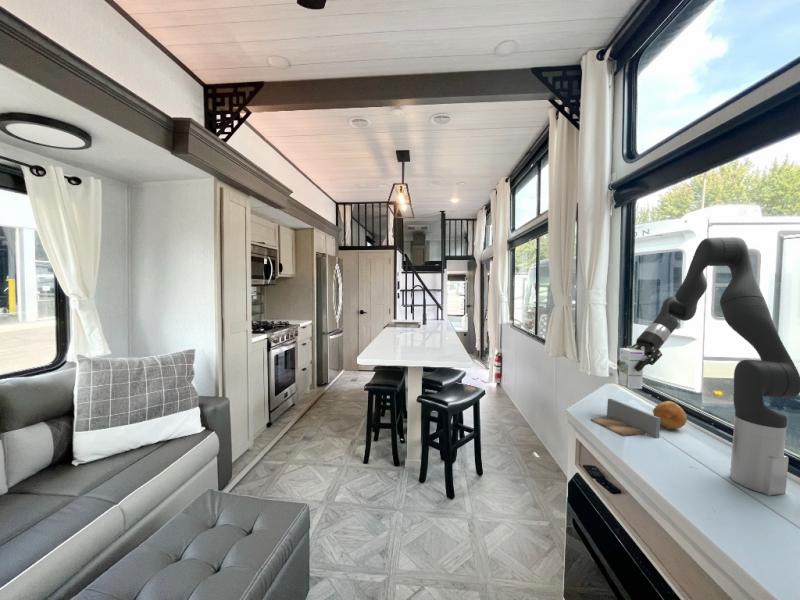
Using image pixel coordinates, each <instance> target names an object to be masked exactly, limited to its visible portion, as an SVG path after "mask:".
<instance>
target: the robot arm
mask: <svg viewBox="0 0 800 600" xmlns="http://www.w3.org/2000/svg"><path fill="white" fill-rule="evenodd" d="M751 259H752V258H751V255H750V251H749V248H748V244H747V243H746V241H745V240H744V239H742V238H741V237H736V236H729V237H728V236H727V237H726V236H725V237H721V236H720V237H707V238H704V239H703V240H701V241H700V243H699V244H698V245H697V247H696V250H695V252H694V254H693V256H692V259H691V262H690V263H689V264H690V265H689V267H688V271H687V273H686V275H685V278H684V279H683V281H682V283H681V284H680V286H679V287H678V289H677V291H676V292H675V296H670V297H666V298H665V299H664V300H663V303H662V304H661V308H660V310H659V313H658V315H657V317H656V318H655V319H654V320H653V321H652V322H651V324H650V325H649V326H647V327H646V328H645V329H644V331H642V333H641V334H640V335H639V336H638V337H637V338H636V341H635V343H634V344H633V345H630V344H629V343H626V344H624V346H622V348H632V349H637V350H641V351H644V354H643V357H642V358H641V361H639V362H638V363H637V365H636V366H635V367H634V369H635V370H636V371H638V372H639V371H641V370H642V369H643V370H644V368H645V367H646V366H648V365H650V366H653V365H655V363H656V362H658V360H659V359H661V357H662V356H663V353H662V351H661V350H660V348H661V347H662V346H663V345H664V344H665V342H667V340H668V339H669V338H670V335H671V334H672V333H673V332H674V331H675V330H676V329H677V327H678V326H679V323H678V321H677V319H678V320H679V321H689V320H691V319H692V318H694V316H695V315H696V312H697V308H698V303H699V300H700V299H701V298H702V296H703V295H704V294H705V292H706V291H707V287H708V281H707V278H706V276H705V274H704V270H705V269H706V268H707V267H708V266H709V267H728V268H729V270H730V272H731V273H730V275H731V278H730V281H729V283H728V285H727V286H726V287H725V289H724V290H723V293H722V294H721V296H720V300H719V304H720V308H721V311H722V312H721V313H722V314H723V318H724V320H725V322H726V324H727V325H728V326H729V327H730V328H731V329H732V330H733V331H734V332H735V333H736V334H738V335H739V336H740V337H742V338H743V339H744V340H745V341H746V342H747V343H748V344H750V345H751V346H752V348H754V349H755V351H756V353H757V354H758V356H759V359H760V360H757V359H742V360H740V361H739V362H738V363H736V366H735V368H734V372H733V406H734V411H735V412H734V422H733V423H734V424H733V434H732V447H731V458H730V459H731V460H730V469H729V470H730V471H729V478H730V479H731V480H732V481H733V482H736V483H737V484H738V485H741V486H742V487H745V488H747V489H750V490H751V491H752V490H753V491H756V492H759V493H762V494H765V495H766V496H769V497H770V496H776V495H781V494H786V492H787V491H786V490H787V479H788V469H789V457H788V456H787V455H785V446H786V444H785V443H786V435H787V425H788V417H787V415H785V414H784V413H783V412H780V411H778V410H777V409H776V410H775V409H773V408H770V407H768V406H766V405H765V403H764V397H769V398H770V397H772V398H779V399H780V398H781V399H793V398H796V397H798V396H799V394H800V374H799V373H800V372H799V371H798V369H797V367H796V365H795V363H794V361H793V359H792V357H791V356H790V353H789V352H788V351H787V349H786V347H785V345H784V343H783V341H782V340H781V337H780V335H779V333H778V330H777V329H776V325H775V324H774V321H773V318H772V315H771V313H770V310H769V307H768V305H767V302H766V300H765V297H764V295H763V293H762V291H761V288H760V286H759V282H758V280H757V277H756V275H755V271H754V267H753V263H752V260H751ZM618 355H619V356H620V351H619V352H618ZM616 363H617V364H616V365H617V366H618V367H619V359H618V360H617V362H616Z"/></svg>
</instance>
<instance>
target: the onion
mask: <svg viewBox="0 0 800 600" xmlns="http://www.w3.org/2000/svg"><path fill="white" fill-rule="evenodd" d="M652 415H654V416H657V417H659V418H661V419H660V426H662V427H664V428H666V429H668V430H677V429H680V428H682V427H684V426H685V425H686V424H687V421H688V420H687V419H688V418H687V414H686V412H685V411H684V409H683V408H682V407H681V406H680V405H678V404H677V403H676V402H673V401H672V400H665V401H662V402H660V403H658V404H657V405H656V406H655V407H654V408H653V409H652Z"/></svg>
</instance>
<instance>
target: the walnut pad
mask: <svg viewBox="0 0 800 600" xmlns="http://www.w3.org/2000/svg"><path fill="white" fill-rule="evenodd" d="M590 421H592V422H594V423H595V424H597V425H600V426H602V427H604V428H606V429H607V430H610V431H612V432H614V433H616V434H617V435H620V436H622V437H629V436H643V435H647V434H646V433H645V432H643V431H641V430H639V429H637V428H634V427H632V426H630V425H628V424H626V423H623V422H621V421H619V420H617V419H615V418H612V417H609V416H607V417H597V418H596V417H594V418H590Z"/></svg>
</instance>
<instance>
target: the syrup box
mask: <svg viewBox="0 0 800 600" xmlns="http://www.w3.org/2000/svg"><path fill="white" fill-rule="evenodd" d="M619 352H620V355H619V356H618V357H619V359H618V360H619V366H618V384H617V385H619V386H622V387H624V388H627V389H632V390H633V389H634V390H642V389H643V377H644V376H643V375H644V368H643V369H642V370H641V371H639V372H638V371H636V370H635V369H634V367H635V366H636V365H637V363H638V362H639V361H641V358H642V357H643V354H644V351H641V350H637V349H632V348H623V347H619Z"/></svg>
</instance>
